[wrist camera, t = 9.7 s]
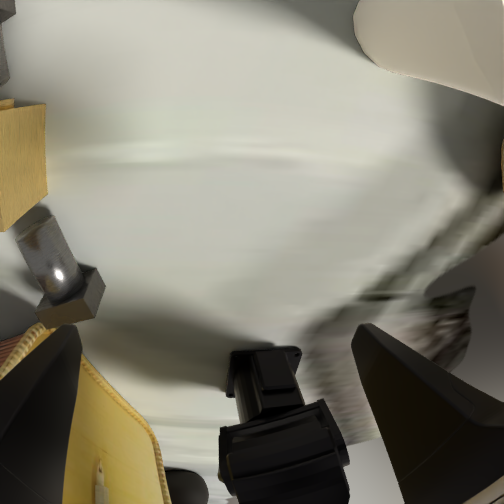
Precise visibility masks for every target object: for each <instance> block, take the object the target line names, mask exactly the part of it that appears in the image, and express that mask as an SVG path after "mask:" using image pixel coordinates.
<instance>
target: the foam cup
mask: <svg viewBox="0 0 504 504" xmlns="http://www.w3.org/2000/svg"><path fill="white" fill-rule="evenodd" d="M353 22H354V32H355V36H356V38H357V40H358V42H359V44H360V46H361V48H362V50H363V52H364V53H365V54H366V55H367V56H368V57H369V58H370V59H371V60H372V61H373V62H374V63H375V64H376V65H377V66H378V67H381V68H383V69H386V70H388V71H391V72H393V73H398V74H400V75H405V76H409V77H414V78H418V79H422V80H426V81H430V82H433V83H437V84H441V85H444V86H448V87H451V88H454V89H457V90H461V91H464V92H467V93H470V94H473V95H476V96H478V97H481V98H484V99H487V100H489V101H492V102H495V103H497V104H500V105H502V106H504V0H360V1H359V3H358V5H357V7H356V10H355V12H354V14H353Z"/></svg>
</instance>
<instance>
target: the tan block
mask: <svg viewBox="0 0 504 504" xmlns="http://www.w3.org/2000/svg"><path fill="white" fill-rule="evenodd" d="M45 110H46V104H40V105H33V106H26V107H20V108H14V98H13V99H5V100H0V232H5V231H6V230H7V229H8V228H9V227H10V226H11V225H13V224H14V223H15V222H16V221H17V220H18V219H19V218H20V217H21V216H23V215H24V214H25V213H26V212H27V211H28V210H29V209H31V208H32V207H33V206H34V205H35V204H36V203H38V202H39V201H40V200H41V199H42V198H44V197H45V196H46V195H47V194H48V190H47V177H46V157H45Z"/></svg>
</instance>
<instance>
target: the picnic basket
mask: <svg viewBox="0 0 504 504" xmlns="http://www.w3.org/2000/svg"><path fill="white" fill-rule="evenodd" d="M56 329H57V328H52V329H48V330H46V329H45V327H44V326H43V324H42V323H36V324H34V325H33V326H31V327H29V329H28V330H27V331H26V333H24V334H21V335H18V336H16V337H13V338H10V339H7V340H4V341H1V342H0V380H1V379H2V378H3V377H4V376H5V375H6V374H7V373H8V372H9V371H10V370H11V369H13V368H14V367H15V366H16V365H17V364H18V363H19V362H20V361H21V360H22V359H23V358H24V357H26V356H27V355H28V354H29V353H30V352H31V351H32V350H33V349H34V348H36V347H37V346H38V345H39V344H40V343H41V342H42V341H44V340H45V339H46V338H47V337H48V336H49V335H50V334H52V333H53V332H54V331H55V330H56ZM62 504H171V499H170V495H169V490H168V486H167V481H166V476H165V472H164V466H163V461H162V456H161V451H160V447H159V444H158V441H157V439H156V437H155V435H154V433H153V431H152V429H151V428H150V426H149V425H148V423H147V422H146V421H145V419H144V418H143V417H142V416H141V415H140V414H139V413H138V412H137V411H136V410H135V409H134V408H133V407H132V406H131V405H130V404H129V403H128V402H127V401H126V400H125V399H124V398H123V397H122V396H121V395H120V394H119V393H118V392H117V391H116V390H115V389H114V388H113V387H112V386H111V385H110V384H109V383H108V382H107V381H106V380H105V379H104V378H103V377H102V376H101V374H100V373H99V372H98V371H97V370H96V369H95V368H94V367H93V366H92V364H91V363H90V362H89V361H88V360H87V359H86V358H85V356H84V355H83V354H82V356H81V364H80V373H79V382H78V392H77V398H76V403H75V409H74V414H73V419H72V425H71V431H70V437H69V444H68V451H67V459H66V467H65V477H64V487H63V501H62Z"/></svg>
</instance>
